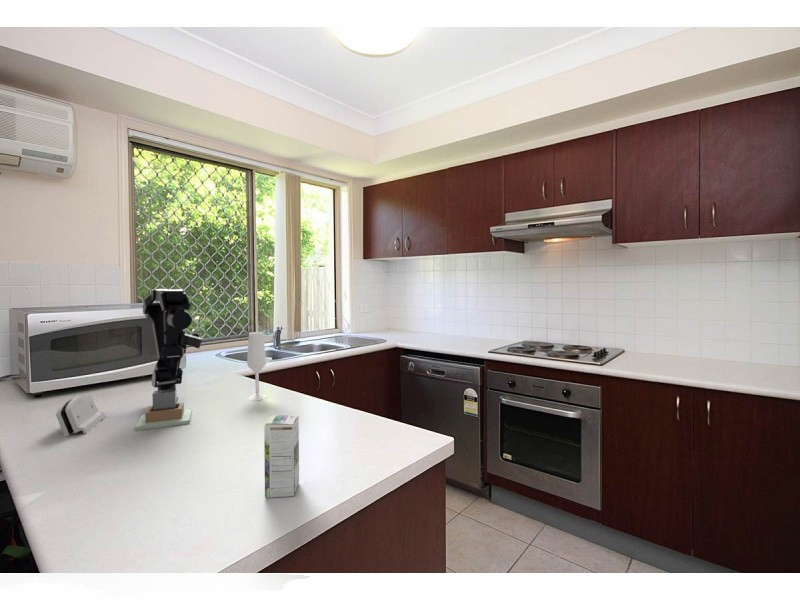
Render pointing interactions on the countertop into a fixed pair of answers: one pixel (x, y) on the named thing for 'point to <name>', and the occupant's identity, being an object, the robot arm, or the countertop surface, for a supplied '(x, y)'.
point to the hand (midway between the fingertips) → (175, 373)
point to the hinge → (79, 415)
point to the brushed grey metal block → (164, 399)
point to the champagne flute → (256, 359)
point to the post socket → (164, 417)
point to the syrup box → (281, 456)
